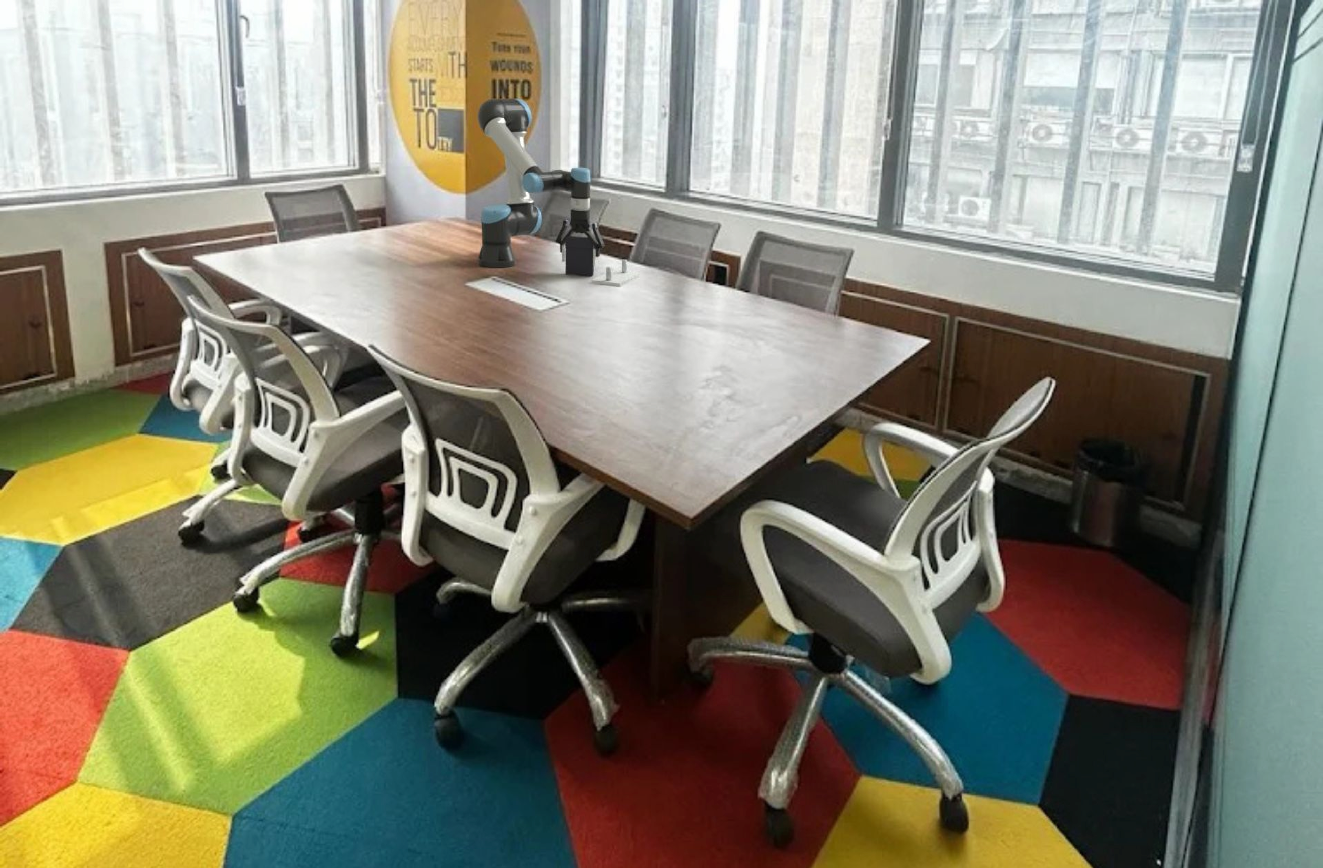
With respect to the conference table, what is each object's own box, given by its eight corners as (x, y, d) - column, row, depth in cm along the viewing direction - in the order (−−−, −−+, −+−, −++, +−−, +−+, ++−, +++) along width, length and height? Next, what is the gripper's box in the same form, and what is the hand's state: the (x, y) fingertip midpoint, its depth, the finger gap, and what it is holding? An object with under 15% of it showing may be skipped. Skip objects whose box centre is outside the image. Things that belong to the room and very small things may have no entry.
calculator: (594, 274, 386) (594, 237, 380) (592, 276, 382) (592, 239, 376) (567, 272, 387) (567, 235, 381) (565, 275, 383) (565, 237, 377)
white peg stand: (591, 283, 372) (591, 267, 369) (613, 272, 391) (613, 257, 389) (619, 286, 368) (620, 270, 366) (640, 275, 387) (641, 260, 385)
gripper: (547, 207, 375) (547, 261, 383) (605, 213, 368) (604, 268, 375) (555, 205, 382) (555, 258, 390) (613, 210, 374) (612, 264, 382)
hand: (579, 263), depth 383 cm, fingers open, 13 cm apart
